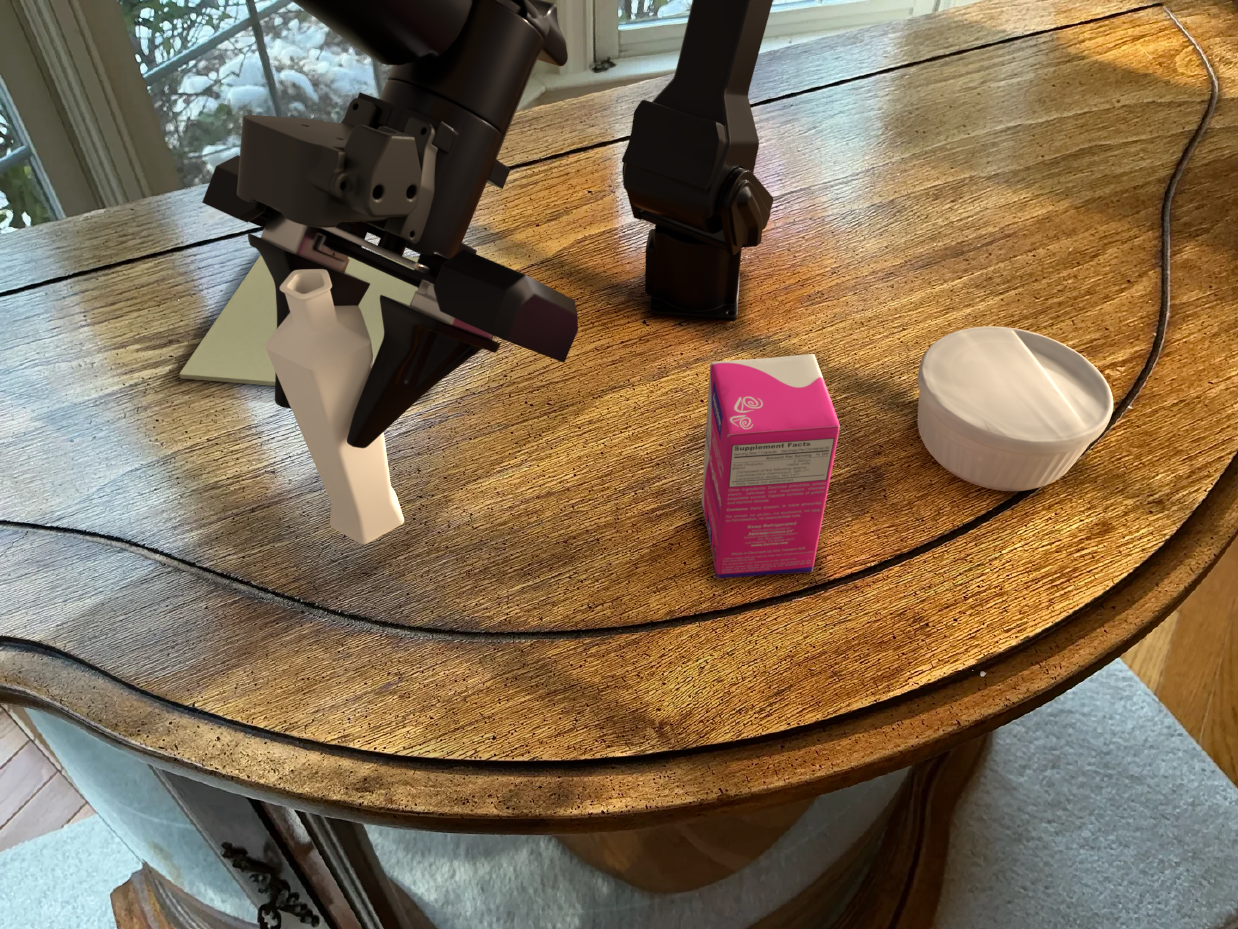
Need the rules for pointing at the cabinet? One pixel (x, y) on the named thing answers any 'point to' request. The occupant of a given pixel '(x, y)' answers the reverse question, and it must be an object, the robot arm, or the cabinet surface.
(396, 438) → the cabinet surface
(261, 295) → the mat
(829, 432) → the supplement box
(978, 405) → the ramekin
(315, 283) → the beige vase
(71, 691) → the cabinet surface
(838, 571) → the cabinet surface
